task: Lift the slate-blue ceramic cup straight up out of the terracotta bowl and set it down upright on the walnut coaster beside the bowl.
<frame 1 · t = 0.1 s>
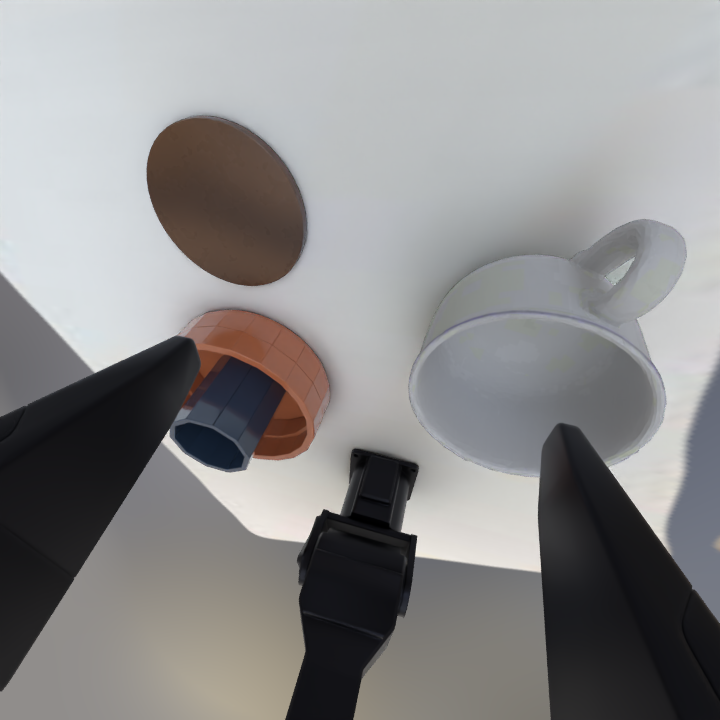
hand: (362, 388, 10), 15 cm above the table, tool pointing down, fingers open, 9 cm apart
cup: (255, 375, 33), point 1 cm above the table, touching bowl
teacup: (538, 294, 23), on the table
coaster: (229, 209, 24), on the table
bowl: (258, 370, 34), on the table
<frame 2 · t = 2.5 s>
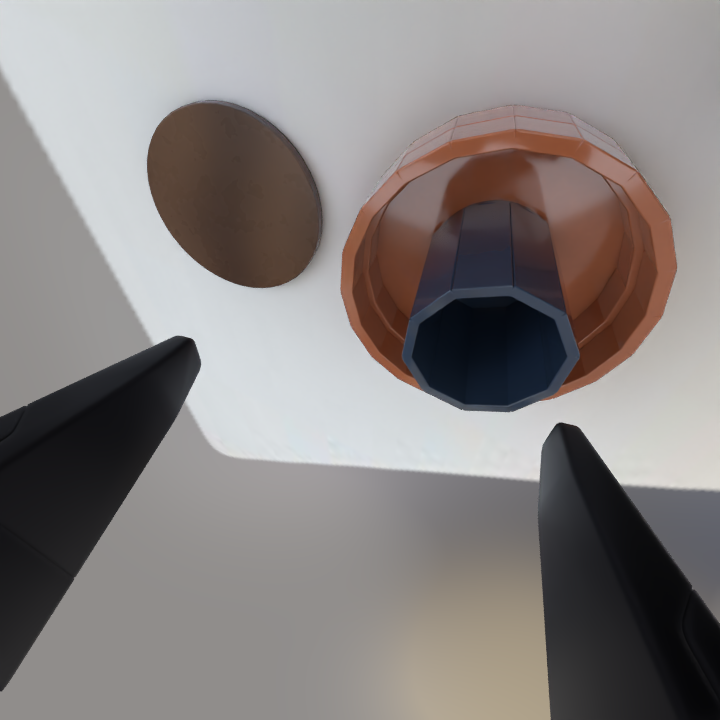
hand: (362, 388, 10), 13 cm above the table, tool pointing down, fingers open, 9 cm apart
cup: (488, 259, 20), point 1 cm above the table, touching bowl
coaster: (237, 205, 22), on the table
bowl: (488, 254, 20), on the table
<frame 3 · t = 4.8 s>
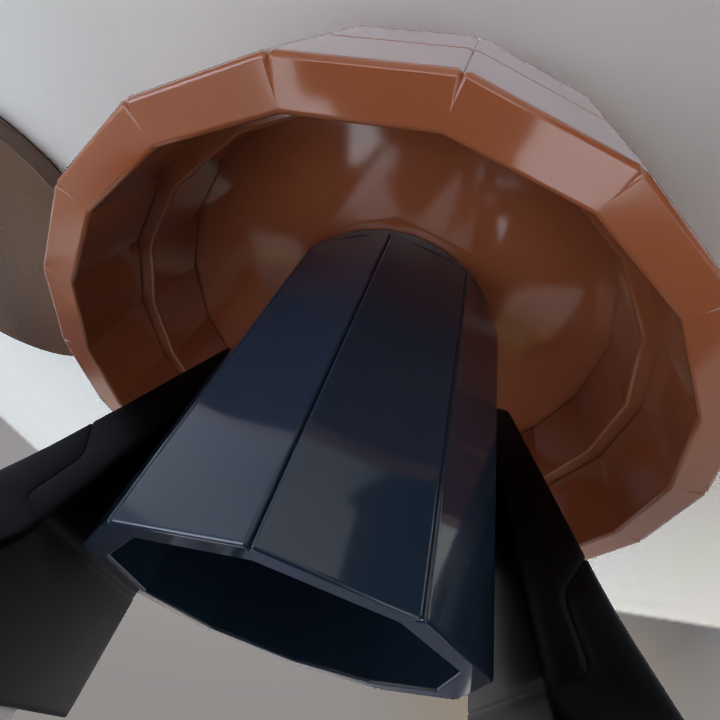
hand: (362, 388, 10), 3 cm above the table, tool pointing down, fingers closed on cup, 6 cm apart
cup: (382, 329, 11), point 1 cm above the table, touching bowl, gripper
bowl: (386, 316, 12), on the table
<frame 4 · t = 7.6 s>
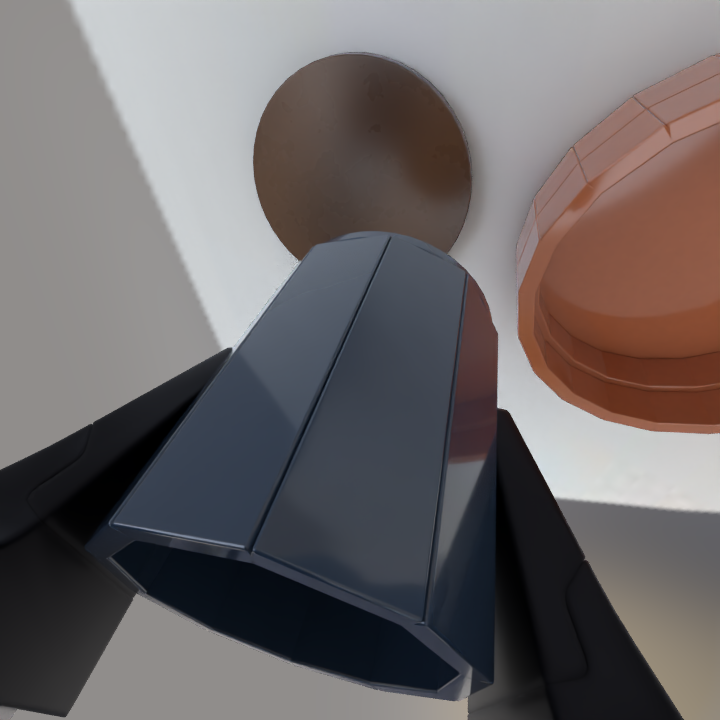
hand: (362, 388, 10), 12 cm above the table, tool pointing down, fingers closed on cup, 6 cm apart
cup: (382, 330, 11), point 9 cm above the table, touching gripper
coaster: (359, 189, 18), on the table
bowl: (689, 243, 16), on the table
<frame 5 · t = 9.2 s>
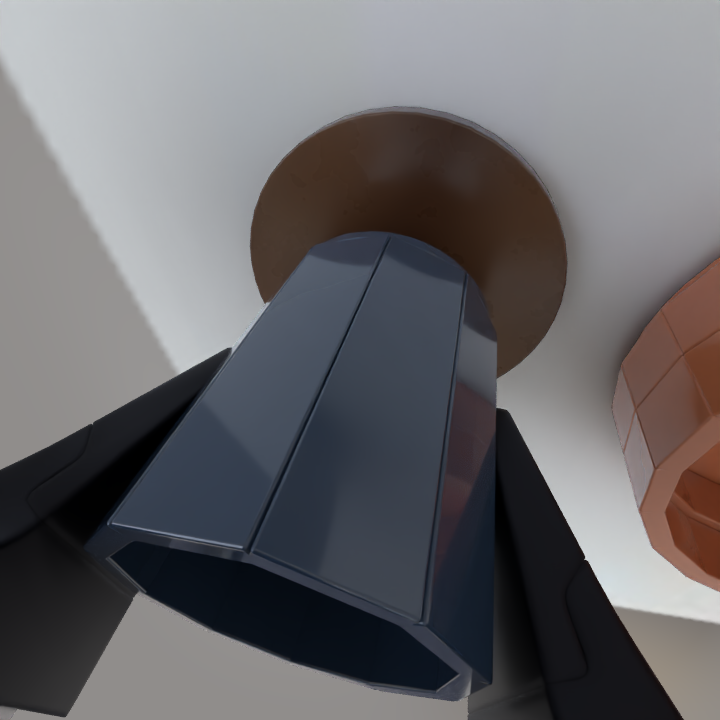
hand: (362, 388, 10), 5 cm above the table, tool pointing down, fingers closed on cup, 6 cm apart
cup: (382, 330, 11), point 3 cm above the table, touching gripper
coaster: (397, 281, 13), on the table
when the fingers open (3 cm above the table, at t = 10.4 s): cup stays where it is, resting on coaster.
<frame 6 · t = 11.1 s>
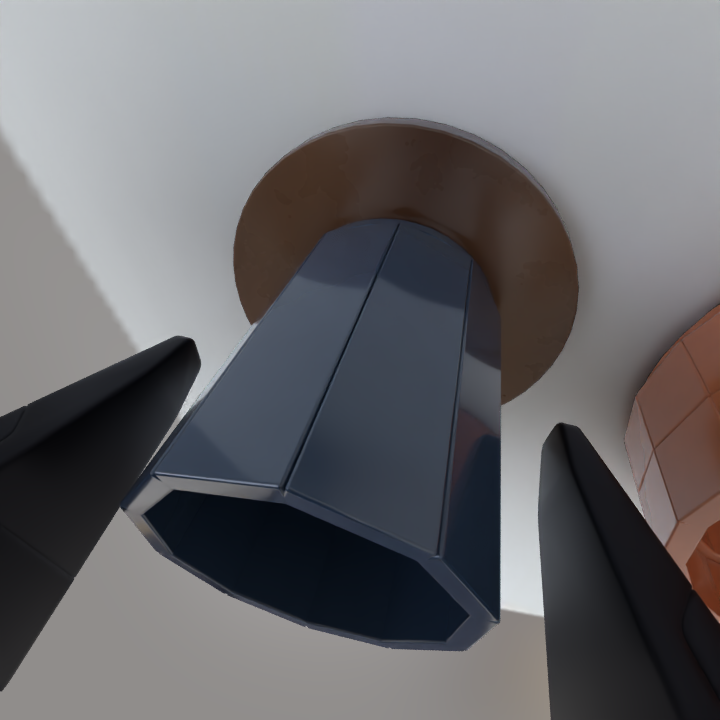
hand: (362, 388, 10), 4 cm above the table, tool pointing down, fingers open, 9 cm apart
cup: (389, 315, 12), point 1 cm above the table, touching coaster
coaster: (392, 303, 12), on the table
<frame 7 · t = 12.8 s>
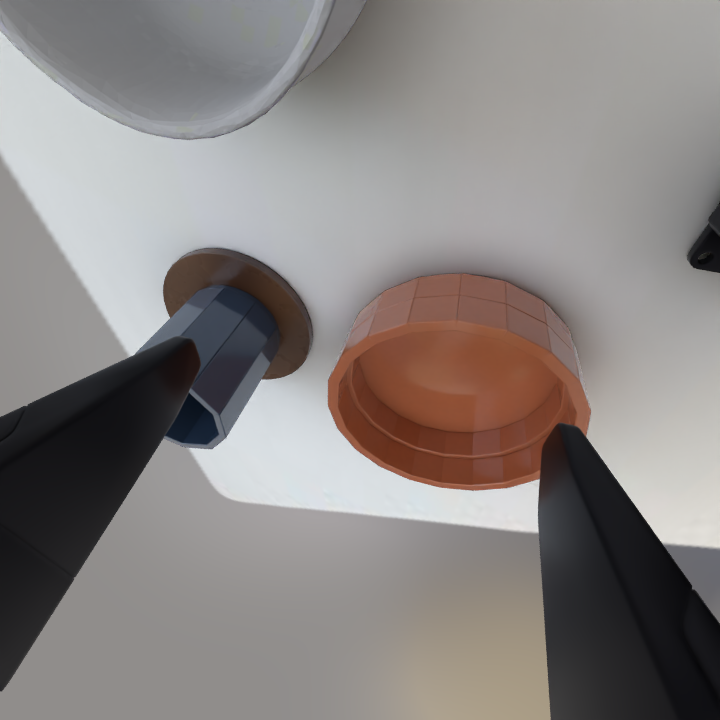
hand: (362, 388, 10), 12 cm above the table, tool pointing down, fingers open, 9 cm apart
cup: (236, 324, 25), point 1 cm above the table, touching coaster
coaster: (240, 318, 26), on the table
bowl: (453, 364, 24), on the table
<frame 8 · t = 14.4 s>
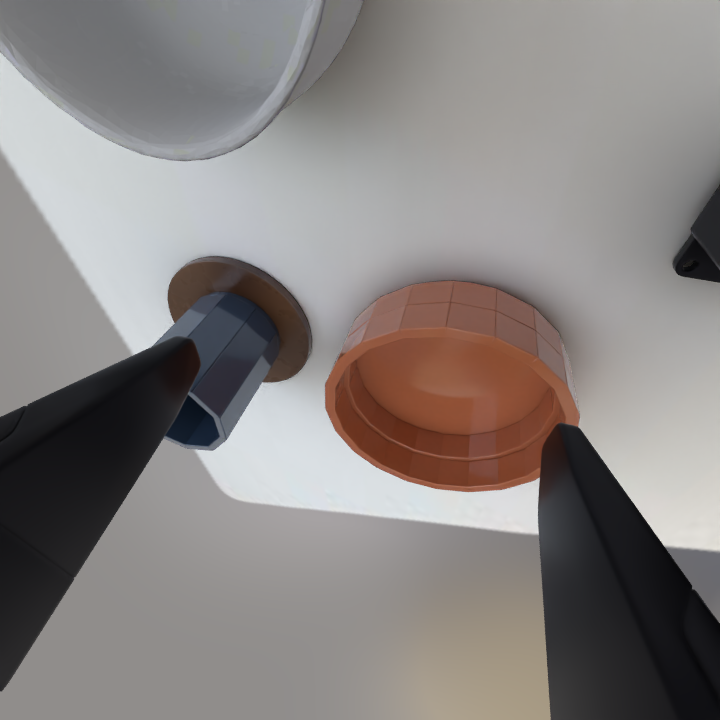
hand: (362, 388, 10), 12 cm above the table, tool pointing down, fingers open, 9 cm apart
cup: (238, 329, 26), point 1 cm above the table, touching coaster
coaster: (241, 323, 27), on the table
bowl: (448, 368, 25), on the table
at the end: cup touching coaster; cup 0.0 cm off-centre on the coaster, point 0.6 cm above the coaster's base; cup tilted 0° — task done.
